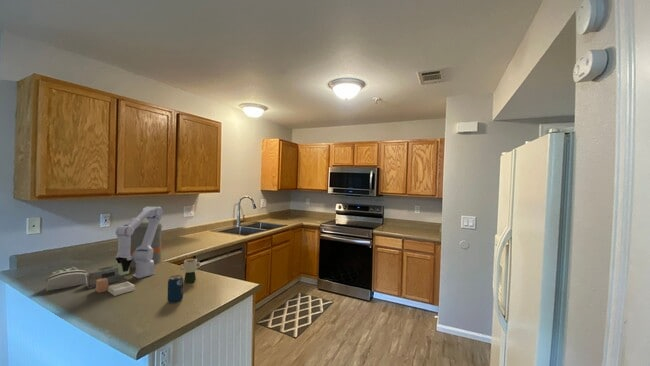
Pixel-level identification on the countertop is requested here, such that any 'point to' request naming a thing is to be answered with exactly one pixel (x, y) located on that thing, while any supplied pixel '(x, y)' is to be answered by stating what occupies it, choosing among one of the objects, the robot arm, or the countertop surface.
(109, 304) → the countertop surface
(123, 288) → the off-white tray
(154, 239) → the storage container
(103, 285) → the terracotta block
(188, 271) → the character mug
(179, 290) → the soda can
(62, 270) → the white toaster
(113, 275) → the grey unit
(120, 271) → the sage green block
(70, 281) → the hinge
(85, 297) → the countertop surface
